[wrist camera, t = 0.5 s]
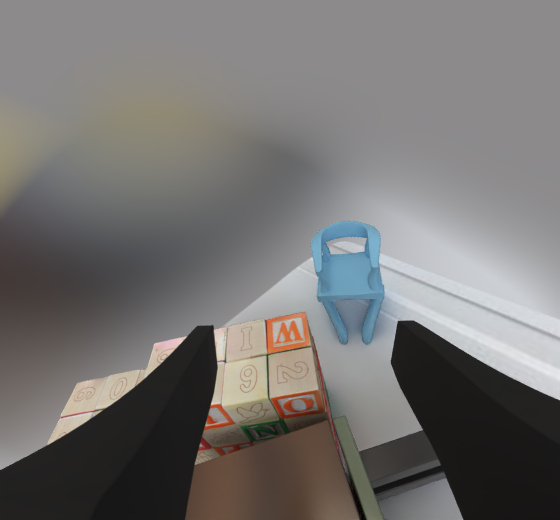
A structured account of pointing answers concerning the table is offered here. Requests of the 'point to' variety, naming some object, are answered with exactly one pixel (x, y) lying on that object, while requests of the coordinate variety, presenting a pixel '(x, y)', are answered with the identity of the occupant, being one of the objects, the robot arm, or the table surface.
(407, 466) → the cupboard door
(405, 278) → the table surface
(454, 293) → the table surface
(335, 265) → the chair
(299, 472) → the cupboard
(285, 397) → the stack of blocks
